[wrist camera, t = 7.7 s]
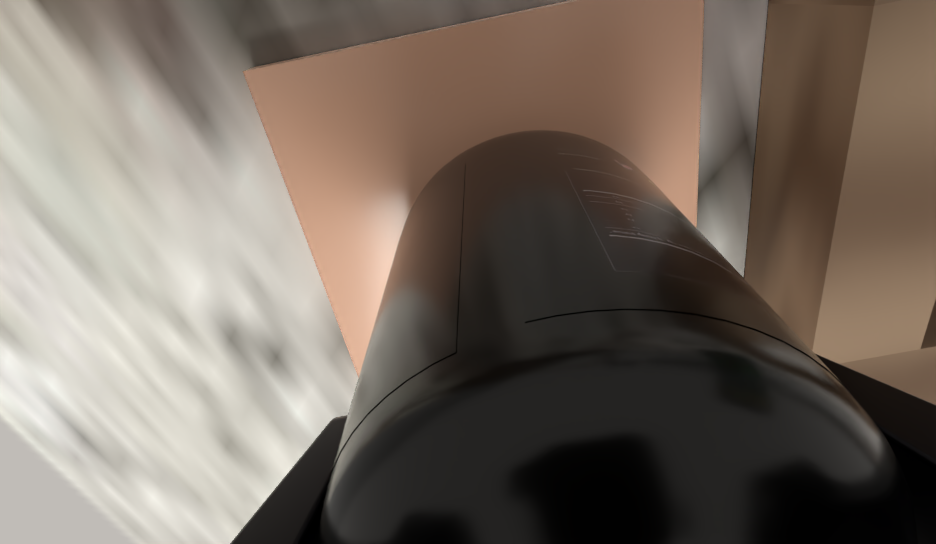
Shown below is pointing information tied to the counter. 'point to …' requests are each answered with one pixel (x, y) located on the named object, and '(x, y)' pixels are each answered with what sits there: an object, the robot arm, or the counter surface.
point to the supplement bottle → (592, 378)
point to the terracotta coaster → (471, 120)
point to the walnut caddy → (850, 184)
